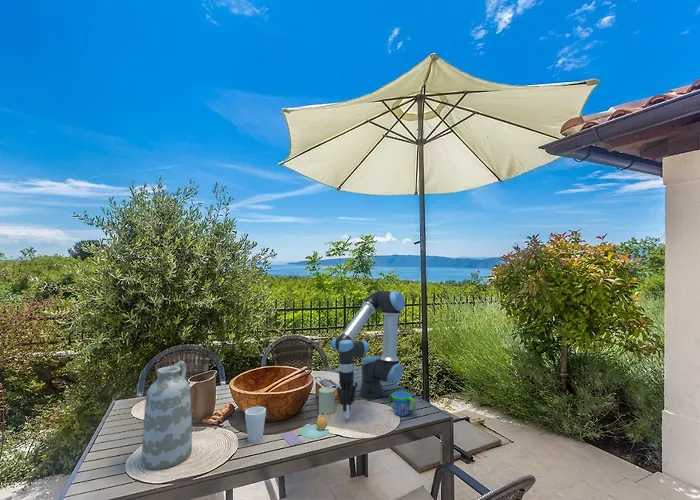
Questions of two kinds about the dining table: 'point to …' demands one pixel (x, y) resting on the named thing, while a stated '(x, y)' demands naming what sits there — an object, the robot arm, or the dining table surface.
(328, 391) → the can
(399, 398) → the snack cup
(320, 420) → the ball
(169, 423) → the vase
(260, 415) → the foam cup
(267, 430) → the dining table surface
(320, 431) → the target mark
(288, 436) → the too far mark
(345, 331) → the robot arm
